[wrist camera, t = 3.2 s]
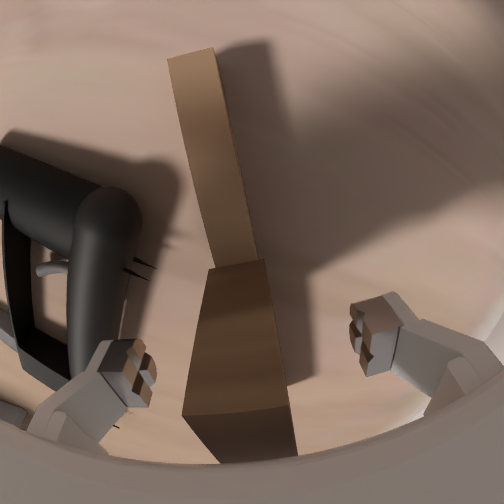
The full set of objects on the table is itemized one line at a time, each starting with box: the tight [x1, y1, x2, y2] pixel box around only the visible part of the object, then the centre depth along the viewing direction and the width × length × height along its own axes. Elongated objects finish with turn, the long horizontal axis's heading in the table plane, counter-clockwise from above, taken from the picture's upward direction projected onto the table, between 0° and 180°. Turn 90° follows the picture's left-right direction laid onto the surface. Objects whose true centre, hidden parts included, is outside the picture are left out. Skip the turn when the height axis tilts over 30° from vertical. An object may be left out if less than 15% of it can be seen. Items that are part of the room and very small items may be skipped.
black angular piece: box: [0, 145, 156, 428], centre depth 12 cm, size 3×20×16 cm
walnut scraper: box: [167, 48, 298, 464], centre depth 9 cm, size 18×2×8 cm, turn 11°
